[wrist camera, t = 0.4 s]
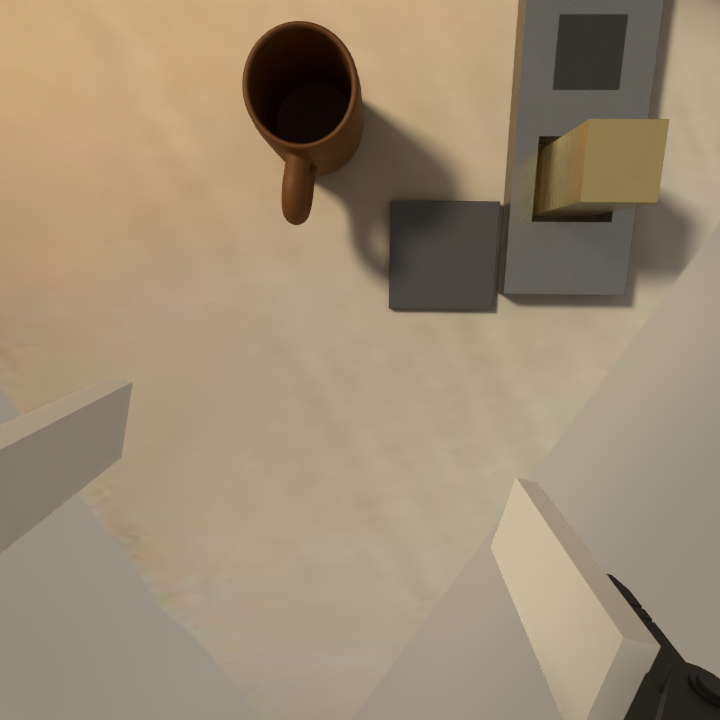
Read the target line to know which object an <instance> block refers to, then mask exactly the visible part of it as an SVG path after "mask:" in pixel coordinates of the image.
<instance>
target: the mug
mask: <svg viewBox="0 0 720 720" xmlns="http://www.w3.org/2000/svg"><path fill="white" fill-rule="evenodd" d="M242 82H243V97H244V101H245V105H246V108H247V111H248V113H249V115H250V117H251V119H252V121H253V123H254V124H255V126H256V128H257V130H258V131H259V133H260V134H261V136H262V137H263V138H264V139H265V140H266V142H267V143H268V144H269V145H270V146H271V147H272V148H273V150H274V151H275V152H276V153H277V154H278V155H279V156H280V157H281V158H282V159H283V160H284V161H285V162H286V163H285V170H284V176H283V183H282V211H283V214H284V217H285V218H286V220H287V221H288V222H289V223H291V224H293V225H300V224H302V223H304V222H305V221H306V220H307V219H308V217H309V214H310V210H311V206H312V200H313V192H314V183H315V175H324V174H328V173H331V172H334V171H336V170H338V169H340V168H341V167H342V166H344V165H345V164H346V163H347V162H348V161H349V160H350V159H351V158H352V156H353V155H354V153H355V152H356V150H357V147H358V145H359V142H360V139H361V134H362V97H361V86H360V81H359V77H358V74H357V69H356V66H355V63H354V60H353V58H352V56H351V54H350V52H349V51H348V49H347V47H346V46H345V45H344V43H343V42H342V41H341V40H340V39H339V38H338V37H337V36H336V35H335V34H334V33H332V32H331V31H330V30H328V29H326V28H324V27H322V26H320V25H318V24H315V23H311V22H306V21H294V22H288V23H284V24H281V25H279V26H276V27H274V28H273V29H271V30H269V31H268V32H267V33H265V34H264V35H263V36H262V37H261V38H260V39H259V40H258V41H257V43H256V44H255V45H254V47H253V48H252V50H251V52H250V54H249V56H248V58H247V61H246V64H245V68H244V72H243V80H242Z"/></svg>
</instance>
